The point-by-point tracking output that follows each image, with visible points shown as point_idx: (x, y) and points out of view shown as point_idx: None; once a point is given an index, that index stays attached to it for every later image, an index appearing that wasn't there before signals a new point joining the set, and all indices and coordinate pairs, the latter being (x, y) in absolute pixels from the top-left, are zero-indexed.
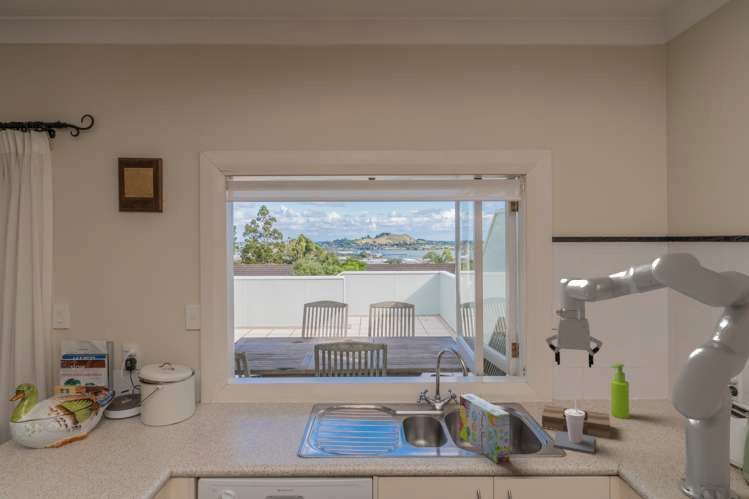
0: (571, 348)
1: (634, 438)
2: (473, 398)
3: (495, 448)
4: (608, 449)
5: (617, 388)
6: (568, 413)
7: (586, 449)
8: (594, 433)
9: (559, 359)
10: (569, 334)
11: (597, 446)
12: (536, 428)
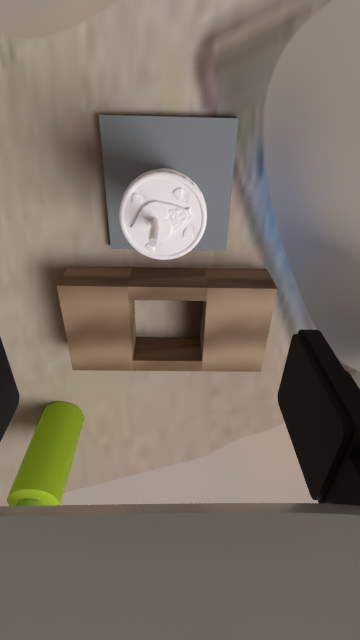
0: (164, 513)
1: (7, 292)
2: None
3: None
4: (62, 179)
5: (42, 475)
6: (190, 195)
7: (125, 123)
8: (111, 271)
9: (311, 376)
10: None
11: (97, 189)
12: (285, 258)
